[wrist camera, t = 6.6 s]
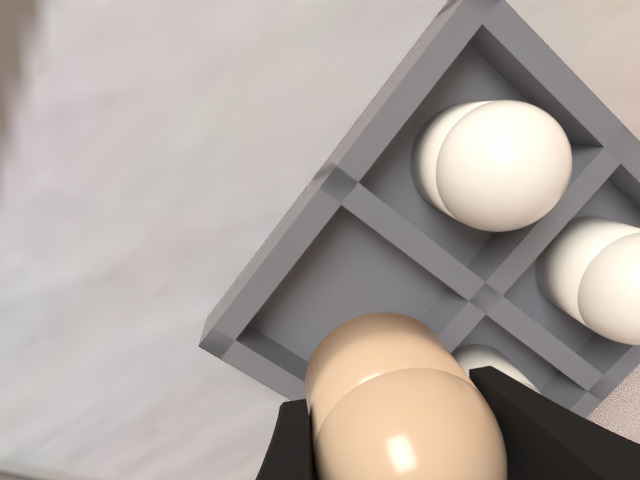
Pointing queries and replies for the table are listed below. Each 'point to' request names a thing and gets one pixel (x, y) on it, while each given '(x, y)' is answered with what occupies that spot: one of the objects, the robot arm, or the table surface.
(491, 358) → the cream egg
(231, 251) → the table surface
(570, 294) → the cream egg
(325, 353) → the tan egg
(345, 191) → the egg tray
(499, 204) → the cream egg
